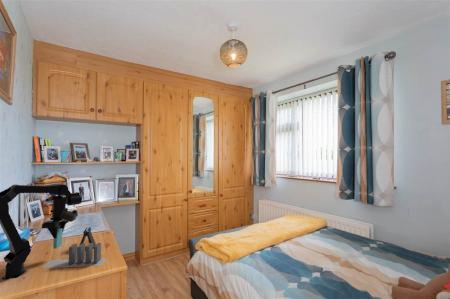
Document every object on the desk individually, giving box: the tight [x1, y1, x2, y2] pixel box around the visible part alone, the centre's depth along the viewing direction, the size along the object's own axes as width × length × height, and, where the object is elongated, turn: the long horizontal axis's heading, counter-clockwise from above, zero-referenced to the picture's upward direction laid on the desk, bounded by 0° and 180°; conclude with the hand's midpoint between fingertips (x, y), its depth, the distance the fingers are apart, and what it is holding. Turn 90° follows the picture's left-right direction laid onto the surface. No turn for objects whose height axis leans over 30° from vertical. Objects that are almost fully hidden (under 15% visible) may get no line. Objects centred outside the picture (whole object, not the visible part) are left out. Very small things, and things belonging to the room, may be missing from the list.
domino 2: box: [68, 243, 78, 265], centre depth 120 cm, size 5×2×9 cm, turn 7°
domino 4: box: [85, 243, 94, 264], centre depth 121 cm, size 5×2×9 cm, turn 7°
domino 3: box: [77, 242, 86, 265], centre depth 121 cm, size 5×2×9 cm, turn 7°
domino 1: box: [52, 228, 63, 250], centre depth 123 cm, size 5×2×9 cm, turn 8°
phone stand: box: [79, 226, 97, 250], centre depth 139 cm, size 9×6×12 cm, turn 110°
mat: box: [41, 257, 108, 269], centre depth 120 cm, size 8×28×1 cm, turn 97°
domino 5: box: [93, 242, 102, 264], centre depth 122 cm, size 5×2×9 cm, turn 7°
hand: (57, 236), depth 123 cm, fingers closed on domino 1, 5 cm apart
